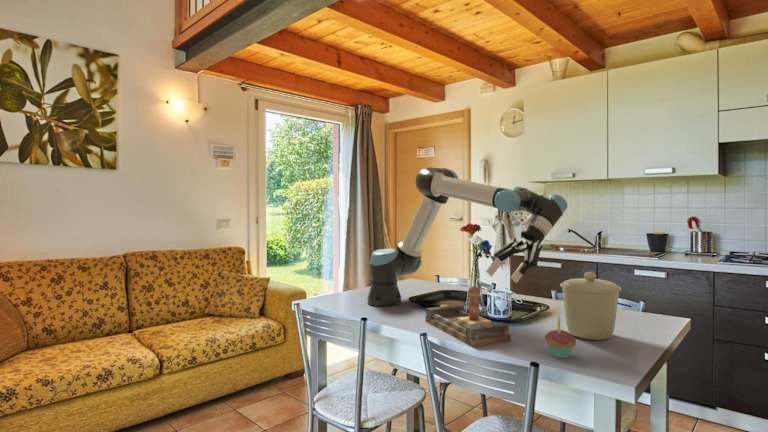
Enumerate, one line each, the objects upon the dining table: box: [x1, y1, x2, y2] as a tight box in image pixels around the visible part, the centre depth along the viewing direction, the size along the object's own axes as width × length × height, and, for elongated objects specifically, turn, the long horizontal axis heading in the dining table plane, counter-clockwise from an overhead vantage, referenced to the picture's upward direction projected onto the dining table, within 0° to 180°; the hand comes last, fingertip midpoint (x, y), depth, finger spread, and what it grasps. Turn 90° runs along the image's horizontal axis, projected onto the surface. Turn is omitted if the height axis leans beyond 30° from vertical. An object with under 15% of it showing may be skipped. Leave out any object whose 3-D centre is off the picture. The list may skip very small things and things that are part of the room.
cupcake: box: [544, 315, 577, 359], centre depth 126 cm, size 9×8×12 cm
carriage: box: [457, 286, 492, 328], centre depth 145 cm, size 8×8×14 cm
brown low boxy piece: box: [424, 304, 512, 348], centre depth 151 cm, size 32×14×6 cm, turn 22°
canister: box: [559, 271, 622, 341], centre depth 143 cm, size 18×18×21 cm
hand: (500, 277), depth 149 cm, fingers open, 13 cm apart
